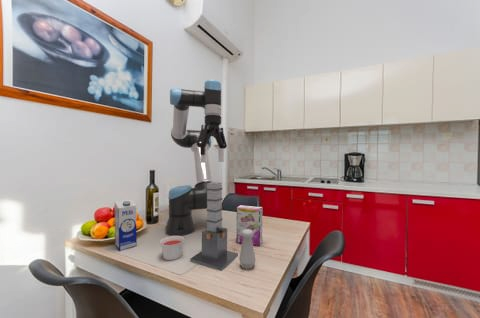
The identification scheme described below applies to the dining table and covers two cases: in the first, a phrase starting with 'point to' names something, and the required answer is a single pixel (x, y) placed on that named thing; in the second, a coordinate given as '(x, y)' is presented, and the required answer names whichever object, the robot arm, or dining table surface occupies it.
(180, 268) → the dining table surface
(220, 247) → the stand base
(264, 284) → the dining table surface
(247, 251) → the salt shaker
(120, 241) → the milk carton
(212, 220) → the column
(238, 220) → the candy bar box
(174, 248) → the candle
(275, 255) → the dining table surface
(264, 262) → the dining table surface
